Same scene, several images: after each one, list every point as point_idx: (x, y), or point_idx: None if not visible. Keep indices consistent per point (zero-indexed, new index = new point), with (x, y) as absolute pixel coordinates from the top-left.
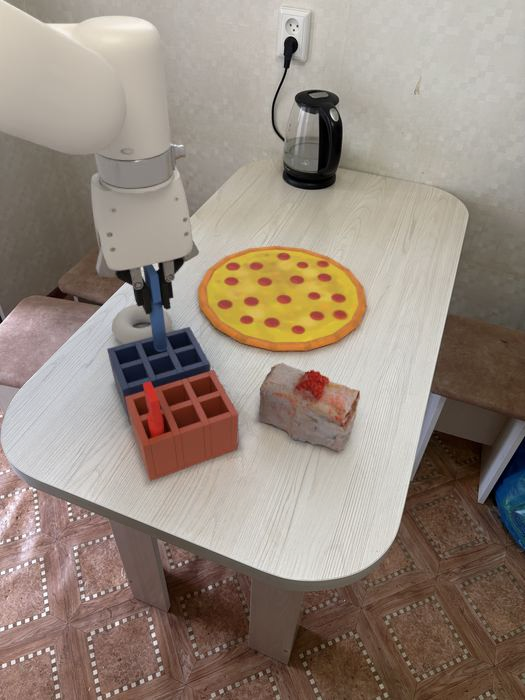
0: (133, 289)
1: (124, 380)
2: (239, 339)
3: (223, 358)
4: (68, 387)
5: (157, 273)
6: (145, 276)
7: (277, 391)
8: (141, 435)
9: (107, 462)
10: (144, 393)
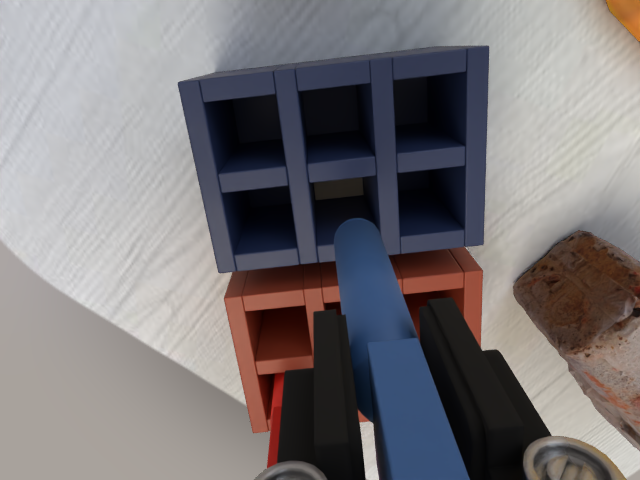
0: (281, 426)
1: (227, 242)
2: (614, 4)
3: (528, 57)
4: (83, 41)
5: (487, 461)
6: (386, 470)
7: (599, 378)
8: (253, 408)
9: (188, 291)
10: (269, 446)
